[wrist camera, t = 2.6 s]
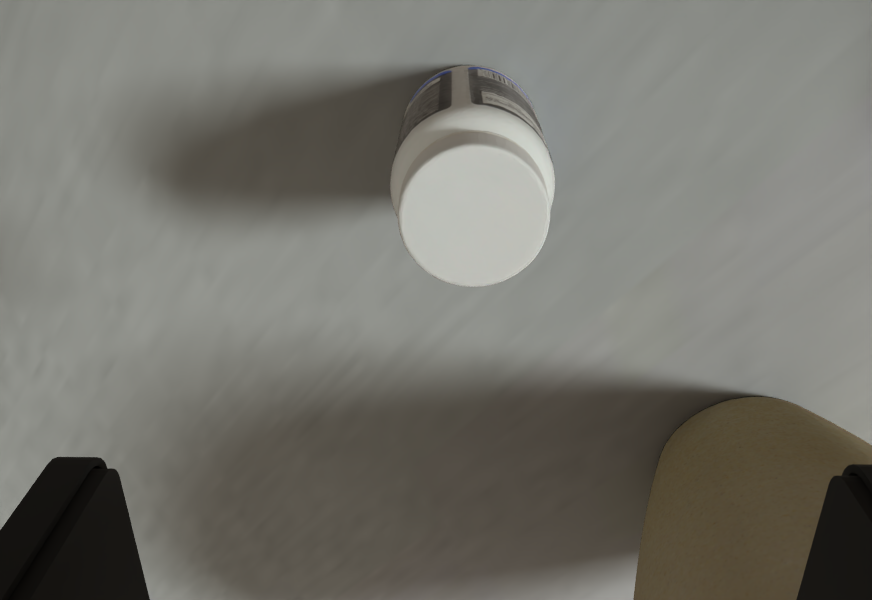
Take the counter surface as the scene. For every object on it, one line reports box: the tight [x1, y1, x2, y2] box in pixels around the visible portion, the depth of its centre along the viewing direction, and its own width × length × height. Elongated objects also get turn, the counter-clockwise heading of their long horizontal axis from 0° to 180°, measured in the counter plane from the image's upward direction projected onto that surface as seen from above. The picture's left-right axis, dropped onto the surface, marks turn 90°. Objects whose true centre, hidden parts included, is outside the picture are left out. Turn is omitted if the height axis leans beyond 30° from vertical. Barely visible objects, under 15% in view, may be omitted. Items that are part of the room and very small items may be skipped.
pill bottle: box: [390, 66, 555, 287], centre depth 24 cm, size 5×5×8 cm
